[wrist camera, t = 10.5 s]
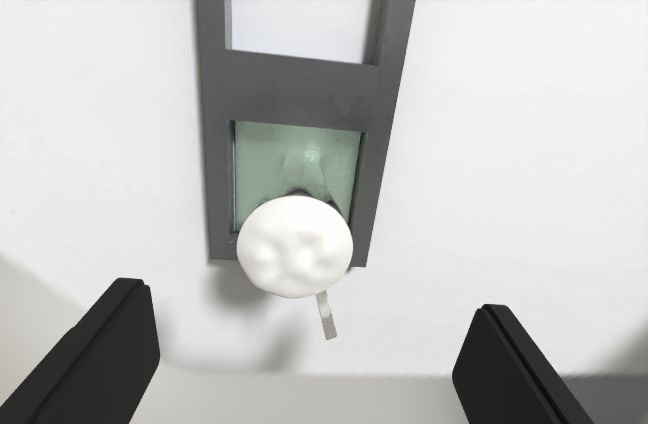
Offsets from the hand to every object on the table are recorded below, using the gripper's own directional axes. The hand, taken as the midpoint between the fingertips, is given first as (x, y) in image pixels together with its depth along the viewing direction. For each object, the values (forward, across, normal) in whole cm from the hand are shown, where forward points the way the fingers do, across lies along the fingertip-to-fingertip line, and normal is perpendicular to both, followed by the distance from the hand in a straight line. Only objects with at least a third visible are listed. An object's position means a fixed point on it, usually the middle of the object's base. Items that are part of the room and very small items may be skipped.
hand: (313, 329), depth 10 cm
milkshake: (+12, +1, 0) cm, 12 cm away
